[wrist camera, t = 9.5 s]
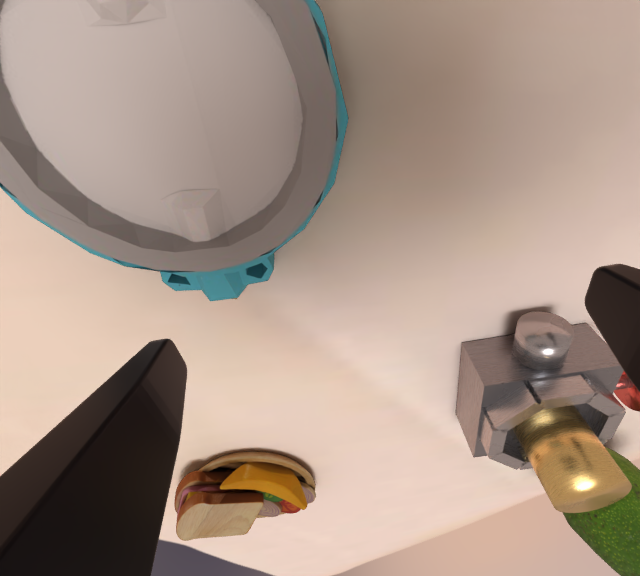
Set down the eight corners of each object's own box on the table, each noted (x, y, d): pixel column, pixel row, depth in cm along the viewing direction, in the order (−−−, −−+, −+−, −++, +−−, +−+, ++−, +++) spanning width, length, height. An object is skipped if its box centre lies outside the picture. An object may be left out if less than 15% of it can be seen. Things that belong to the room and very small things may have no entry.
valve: (649, 288, 25) (726, 346, 20) (594, 409, 33) (640, 469, 28) (463, 318, 26) (499, 380, 21) (454, 429, 34) (478, 490, 29)
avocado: (618, 419, 34) (746, 575, 24) (613, 458, 39) (720, 604, 29) (531, 441, 36) (619, 597, 26) (536, 476, 40) (612, 621, 30)
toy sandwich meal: (283, 513, 43) (282, 561, 39) (167, 492, 38) (153, 544, 35) (336, 461, 36) (341, 512, 33) (205, 429, 32) (193, 484, 28)
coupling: (580, 392, 25) (642, 473, 20) (565, 428, 27) (618, 507, 23) (514, 402, 25) (562, 484, 20) (506, 437, 28) (546, 516, 23)
